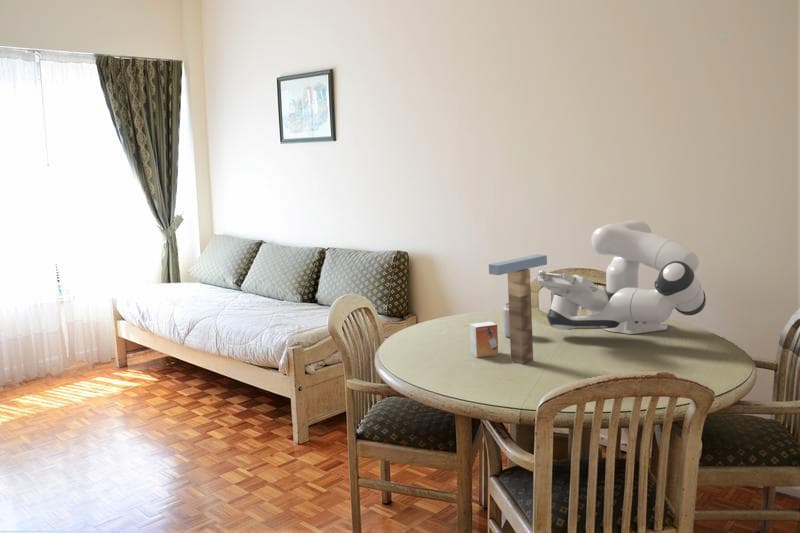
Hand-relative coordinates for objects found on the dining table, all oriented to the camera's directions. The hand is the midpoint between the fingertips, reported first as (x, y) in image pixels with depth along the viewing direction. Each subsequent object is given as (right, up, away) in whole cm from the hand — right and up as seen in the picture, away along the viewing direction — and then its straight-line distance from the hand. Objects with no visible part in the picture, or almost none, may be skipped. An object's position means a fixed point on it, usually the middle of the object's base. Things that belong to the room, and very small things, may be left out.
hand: (550, 273), depth 239 cm
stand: (-10, -28, -4) cm, 30 cm away
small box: (-21, -27, +6) cm, 35 cm away
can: (-8, -23, +26) cm, 35 cm away
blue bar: (-12, +2, -10) cm, 16 cm away
